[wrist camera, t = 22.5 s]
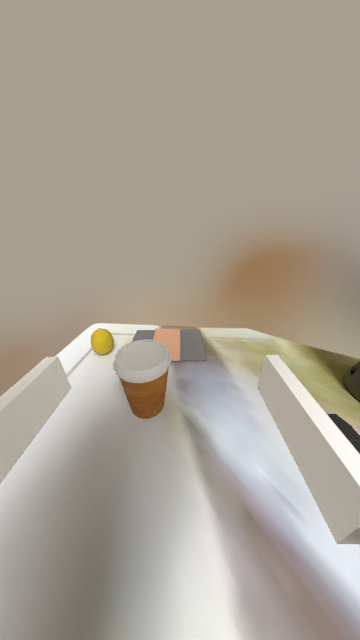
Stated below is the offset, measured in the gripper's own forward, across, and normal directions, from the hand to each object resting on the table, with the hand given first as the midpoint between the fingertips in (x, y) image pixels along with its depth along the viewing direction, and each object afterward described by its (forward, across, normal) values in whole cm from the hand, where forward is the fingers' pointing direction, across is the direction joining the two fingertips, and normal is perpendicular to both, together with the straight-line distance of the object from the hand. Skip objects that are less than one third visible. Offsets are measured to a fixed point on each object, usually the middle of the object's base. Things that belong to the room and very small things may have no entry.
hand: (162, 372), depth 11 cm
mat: (+35, -4, -21) cm, 41 cm away
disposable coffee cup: (+14, -6, -21) cm, 26 cm away
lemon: (+30, -21, -21) cm, 42 cm away
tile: (+26, -3, -20) cm, 33 cm away
